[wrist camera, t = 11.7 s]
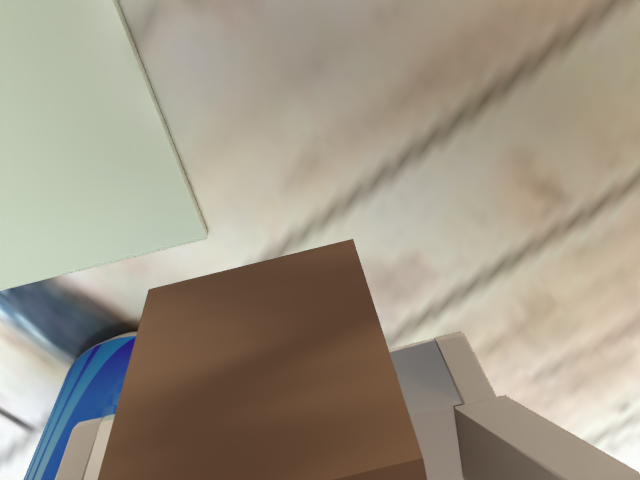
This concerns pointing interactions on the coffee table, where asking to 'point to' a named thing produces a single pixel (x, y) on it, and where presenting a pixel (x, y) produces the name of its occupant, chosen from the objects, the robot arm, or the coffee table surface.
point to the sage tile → (82, 145)
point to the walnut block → (264, 379)
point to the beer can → (82, 400)
